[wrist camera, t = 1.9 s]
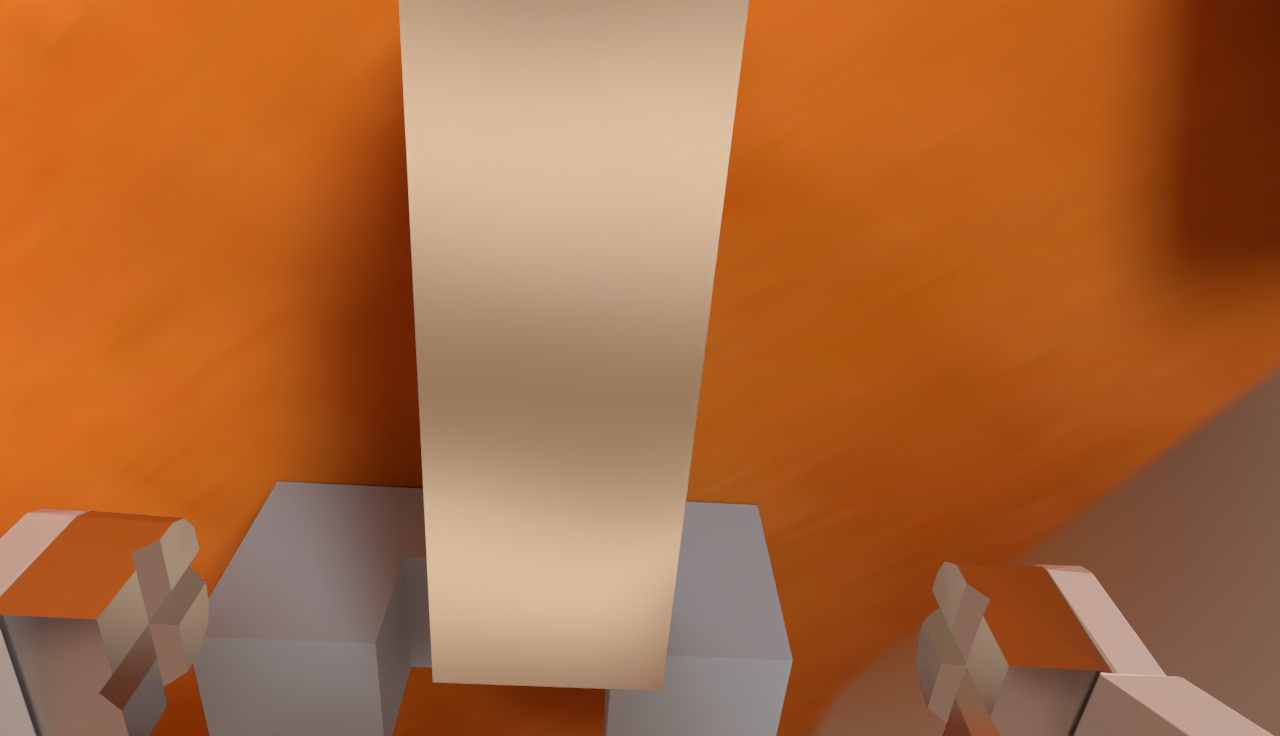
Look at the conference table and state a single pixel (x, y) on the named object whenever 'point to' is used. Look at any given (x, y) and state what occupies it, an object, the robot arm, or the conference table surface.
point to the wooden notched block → (561, 319)
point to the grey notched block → (400, 624)
